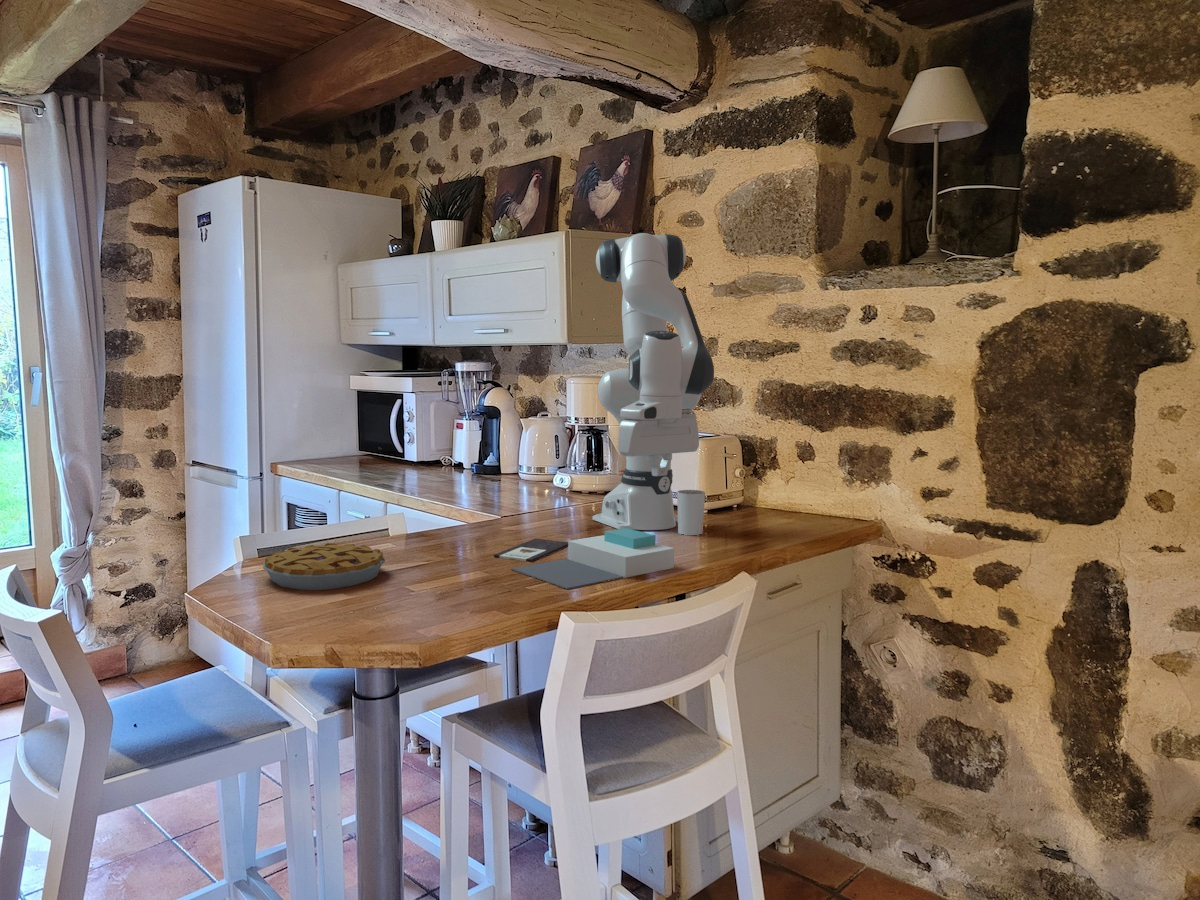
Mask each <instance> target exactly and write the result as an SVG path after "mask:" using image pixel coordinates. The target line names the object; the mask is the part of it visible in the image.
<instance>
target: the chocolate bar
mask: <svg viewBox="0 0 1200 900" xmlns="http://www.w3.org/2000/svg"><path fill="white" fill-rule="evenodd" d="M565 548H568V541H560V540H559V541H558V540H552V539H551V540H550V539H541V538H533V539H531V540H528V541H526V542H523V543H520V544H518V545H515V546H513V547H511V548H508V549H506V550H503V551H500V552H498V553H494V555H493V558H497V559H504V560H513V561H519V562H520V561H521V562H527V561H528V563H533V562H535V561H538V560H540V559H542V558H544V556H545V557H547V556H548V555H551V554H554V553H556V552H558V551H561V550H563V549H565ZM560 549H561V550H560ZM553 552H554V553H553ZM546 555H547V556H546ZM539 558H540V559H539ZM537 559H538V560H537Z"/></svg>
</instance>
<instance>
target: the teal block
mask: <svg viewBox="0 0 1200 900" xmlns="http://www.w3.org/2000/svg"><path fill="white" fill-rule="evenodd" d="M604 535H605V538H604V541H606V542H610V543H614V544H617V545H621V546H625V547H628V548H632V549H635V548H641V547H647V546H652V545H655V543H656V535H655V534H652V533H647V532H643V531H641V530H634V529H628V528H624V529H617V528H616V529H612V530H611V529H610V530H606V531H604Z"/></svg>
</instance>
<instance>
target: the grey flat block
mask: <svg viewBox="0 0 1200 900" xmlns="http://www.w3.org/2000/svg"><path fill="white" fill-rule="evenodd" d="M604 538H605V534H604V535H603V534H602V535H597V536H591V537H584V538H578V539H573V540H567V542H568V547H567V548H568V549H567V559H569V560H572V561H575V562H578V563H581V564H585V565H588V566H591V567H594V568H597V569H601V570H604V571H607V572H610V573H613V574H617V575H620V576H623V578H630V577H636V576H640V575H644V574H649V573H650V574H651V573H655V572H656V573H657V572H660V571H664V570H668V569H669V570H670V569H674V568H675V548H674V547H672V546H667V545H663V544H658V543H656V542H655V545H652V546H647V547H641V548H635V549H632V548H628V547H625V546H621V545H617V544H614V543H610V542H606V541H604Z"/></svg>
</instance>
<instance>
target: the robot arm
mask: <svg viewBox="0 0 1200 900" xmlns="http://www.w3.org/2000/svg"><path fill="white" fill-rule="evenodd" d="M686 259H687V253H686V248H685V246H684V244H683V241H682V239H681V238H680V236H678V235H675V234H669V233H666V234H665V235H664V234H651V233H648V232H639V233H635V234H633V235H631V236H626V237H621V238H617V239H614V238H611V239H606V240H604V241H602V242H601V243H600V244H599V245H598V249H597V252H596V256H595V265H596V269H597V272H598V274H599V275H600V278H601V279H603V281H605V282H608V283H617V282H620V283H621V289H622V298H621V299H622V300H621V320H622V323H621V325H622V333H623V334H622V337H623V346H624V349H625V351H626V352H627V353H628V354H629V355H630V356H629V357H628V367H627V368H626V367H624V368H619V369H614V370H609V371H606V372H605V373H604V374H603V375H602V376H601V378H600V380H599V382H598V384H597V385H598V386H597V396H598V401H599V402H600V404H601V406H602V407H603V408H604V409H605V410H606V411H608V412H609V413H610V414H611V415H612V416H613V417H614V418H615V419H616V420H617V422H618V424H619V428H618V442H617V444H618V446H617V447H618V452H619V453H620V455H621V456H623V457H625V458H626V459H625V462H626V463H625V464H626V465H625V469H621V470H618V472H621V473H619V474H618V476H621V479H620V483H619V484H618V485H617V486H615V488H613V489H612V490H611V491H610V492H608V493H607V494H606V495H605V496H604V497H603V501H602V504H601V505H602V507H601V512H600V513H596V514H594V515H592V521H596V522H597V523H601V524H603V525H607V526H608V527H611V528H614V529H616V530H617V529H624V528H628V529H632V530H636V531H659V530H660V531H661V530H668V529H669V530H670V529H673V528H675V527H677V523H676V522H677V518H676V516H675V512H674V510H675V509H674V500H673V499H674V498H673V491H672V484H673V478H674V475H673V469H672V467H671V466H672V460H673V454H680V453H683V454H684V453H695V452H697V450H698V448H699V446H700V440H699V439H700V436H699V435H700V434H699V428H698V422H697V414H696V413H695V411H694V409H695V408H696V407H697V406H698V404H699V403H700V400H701V398H702V393H703V392H705V391H707V389H709V388H710V387H711V386H712V385H713V383H714V378H715V368H714V367H715V366H714V362H713V361H714V360H713V358H712V356H711V353H710V352H709V350H708V349H707V347H706V344H705V341H704V338H703V336H702V333H701V330H700V328H699V327H700V326H699V325H698V322H697V318H696V315H695V313H694V310H693V308H692V304H691V302H690V300H689V298H688V296H687V294H686V293H685V292H683V291H682V290H680V289H679V288H678V287H677V286H676V285H675V283H674V282H673V281H674V280H676V279H677V278H678V277H679V276H680V275H681V274H682V272H683V271H684V267H685V265H686ZM667 323H669V324H671V325H672V326H673V327H674V328H675V329H676V331H677V333H676V332H673V331H668V324H667Z"/></svg>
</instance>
